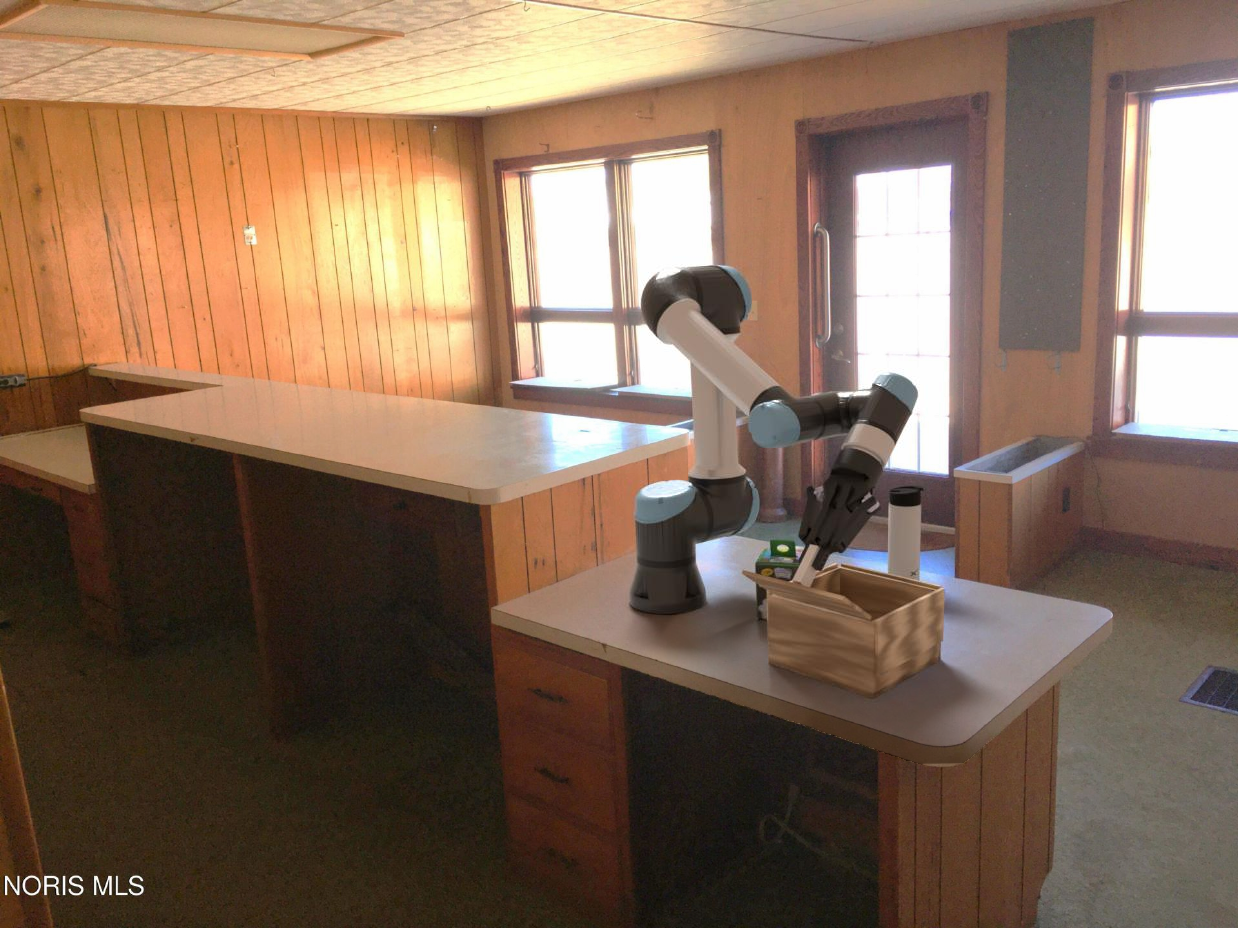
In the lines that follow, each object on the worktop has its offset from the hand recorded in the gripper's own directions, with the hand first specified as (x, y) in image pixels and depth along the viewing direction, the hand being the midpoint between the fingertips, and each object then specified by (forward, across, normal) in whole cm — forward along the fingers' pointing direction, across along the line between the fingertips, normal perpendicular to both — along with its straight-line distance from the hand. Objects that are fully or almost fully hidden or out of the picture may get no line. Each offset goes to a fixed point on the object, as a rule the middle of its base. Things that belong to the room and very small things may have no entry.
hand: (800, 585), depth 152 cm
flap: (0, 0, -7) cm, 7 cm away
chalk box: (-5, +23, -30) cm, 38 cm away
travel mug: (-26, +15, -51) cm, 59 cm away
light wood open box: (+2, 0, -23) cm, 23 cm away
